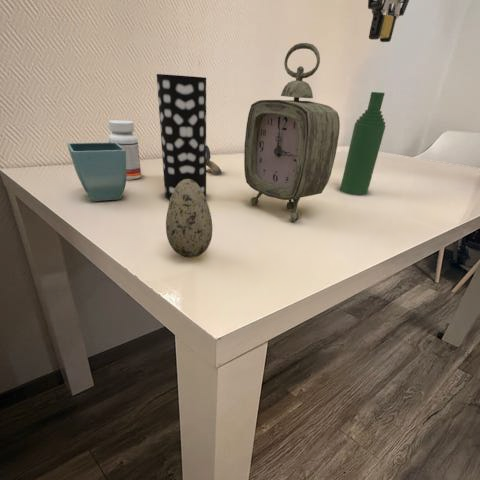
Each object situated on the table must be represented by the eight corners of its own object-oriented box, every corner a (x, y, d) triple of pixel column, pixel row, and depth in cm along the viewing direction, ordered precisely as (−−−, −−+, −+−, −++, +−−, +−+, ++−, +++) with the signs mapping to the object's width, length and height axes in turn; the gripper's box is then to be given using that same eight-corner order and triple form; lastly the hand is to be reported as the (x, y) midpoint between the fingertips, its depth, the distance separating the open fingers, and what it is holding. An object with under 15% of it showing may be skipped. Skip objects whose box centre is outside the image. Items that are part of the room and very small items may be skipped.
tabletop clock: (241, 204, 66) (250, 41, 51) (273, 198, 71) (290, 47, 56) (294, 227, 57) (325, 37, 43) (327, 218, 62) (364, 46, 48)
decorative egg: (191, 244, 49) (189, 171, 43) (221, 257, 46) (223, 180, 40) (159, 255, 45) (151, 177, 39) (188, 270, 42) (185, 188, 36)
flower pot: (77, 193, 66) (66, 142, 60) (123, 190, 69) (116, 141, 64) (83, 206, 59) (71, 151, 54) (133, 202, 63) (126, 149, 58)
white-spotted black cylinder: (214, 196, 69) (215, 78, 58) (189, 205, 63) (185, 75, 52) (182, 189, 72) (178, 75, 61) (156, 197, 66) (145, 73, 55)
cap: (387, 35, 68) (392, 14, 66) (367, 35, 70) (371, 14, 68) (390, 38, 71) (395, 18, 69) (370, 38, 73) (375, 18, 71)
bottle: (349, 186, 83) (372, 91, 72) (372, 192, 80) (400, 93, 68) (334, 189, 80) (356, 90, 68) (357, 196, 76) (384, 92, 65)
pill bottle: (115, 174, 80) (106, 119, 73) (141, 174, 81) (135, 120, 75) (113, 180, 75) (104, 122, 68) (141, 180, 76) (135, 123, 70)
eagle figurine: (179, 166, 85) (207, 165, 80) (185, 139, 85) (213, 136, 80) (198, 180, 92) (224, 179, 87) (203, 154, 91) (230, 152, 87)
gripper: (406, -66, 67) (380, 44, 77) (368, -90, 59) (345, 36, 69) (444, -74, 62) (411, 44, 72) (409, -102, 54) (377, 35, 64)
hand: (379, 40), depth 70 cm, fingers closed on cap, 4 cm apart
